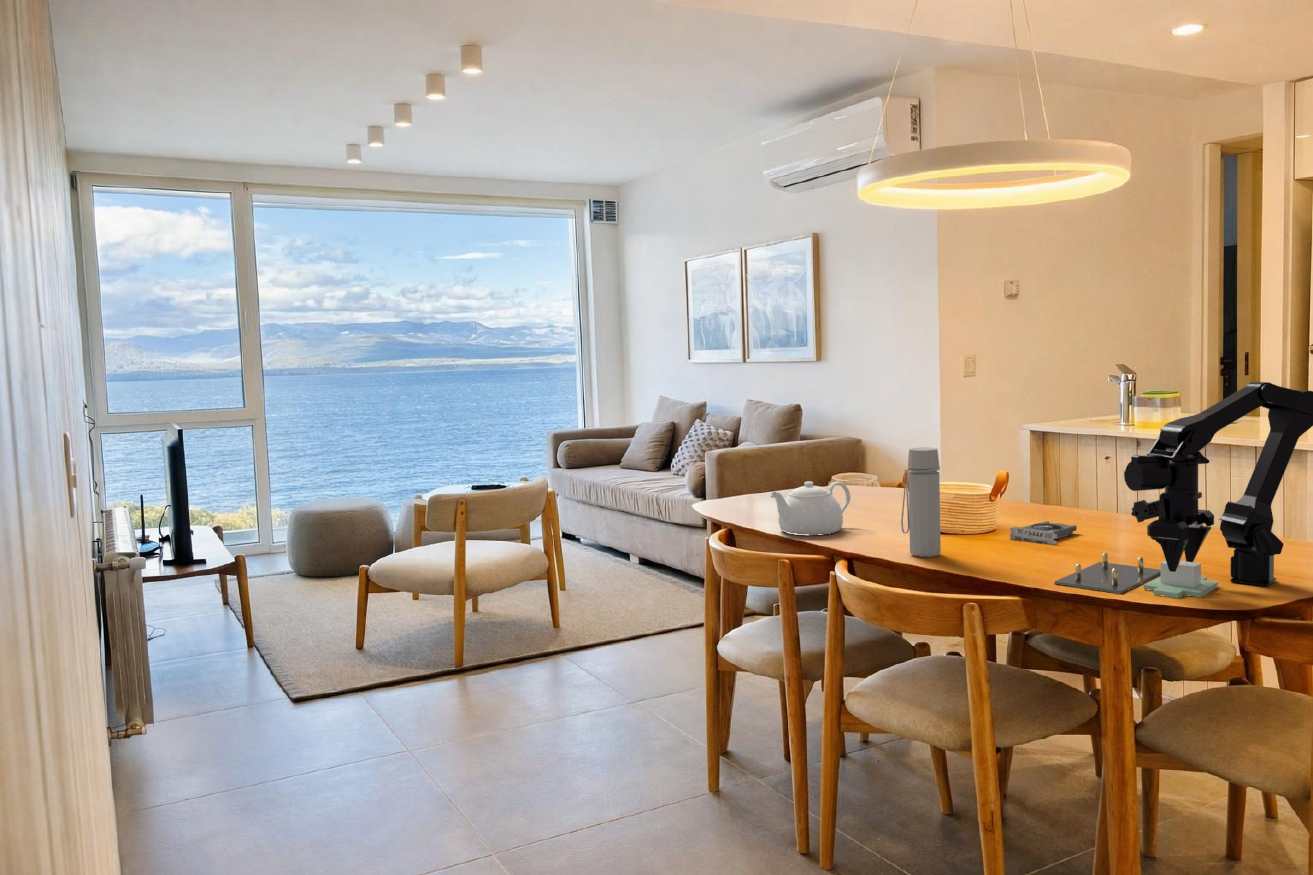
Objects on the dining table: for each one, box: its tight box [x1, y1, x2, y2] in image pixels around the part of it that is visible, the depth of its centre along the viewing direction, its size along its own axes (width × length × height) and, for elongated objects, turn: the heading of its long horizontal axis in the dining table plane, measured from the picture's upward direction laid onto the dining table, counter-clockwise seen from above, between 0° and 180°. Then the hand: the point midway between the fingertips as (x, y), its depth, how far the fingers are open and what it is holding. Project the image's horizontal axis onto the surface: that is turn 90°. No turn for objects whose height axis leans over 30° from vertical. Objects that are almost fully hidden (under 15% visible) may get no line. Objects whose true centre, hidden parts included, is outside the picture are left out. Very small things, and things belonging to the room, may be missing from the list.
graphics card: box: [1009, 520, 1078, 546], centre depth 243 cm, size 17×4×12 cm
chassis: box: [1054, 552, 1161, 595], centre depth 200 cm, size 13×22×4 cm, turn 133°
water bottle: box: [900, 447, 942, 558], centre depth 229 cm, size 9×8×25 cm
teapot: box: [770, 481, 851, 535], centre depth 264 cm, size 19×18×14 cm
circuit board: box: [1143, 560, 1219, 599], centre depth 190 cm, size 10×16×5 cm, turn 133°
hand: (1181, 566), depth 190 cm, fingers open, 9 cm apart
